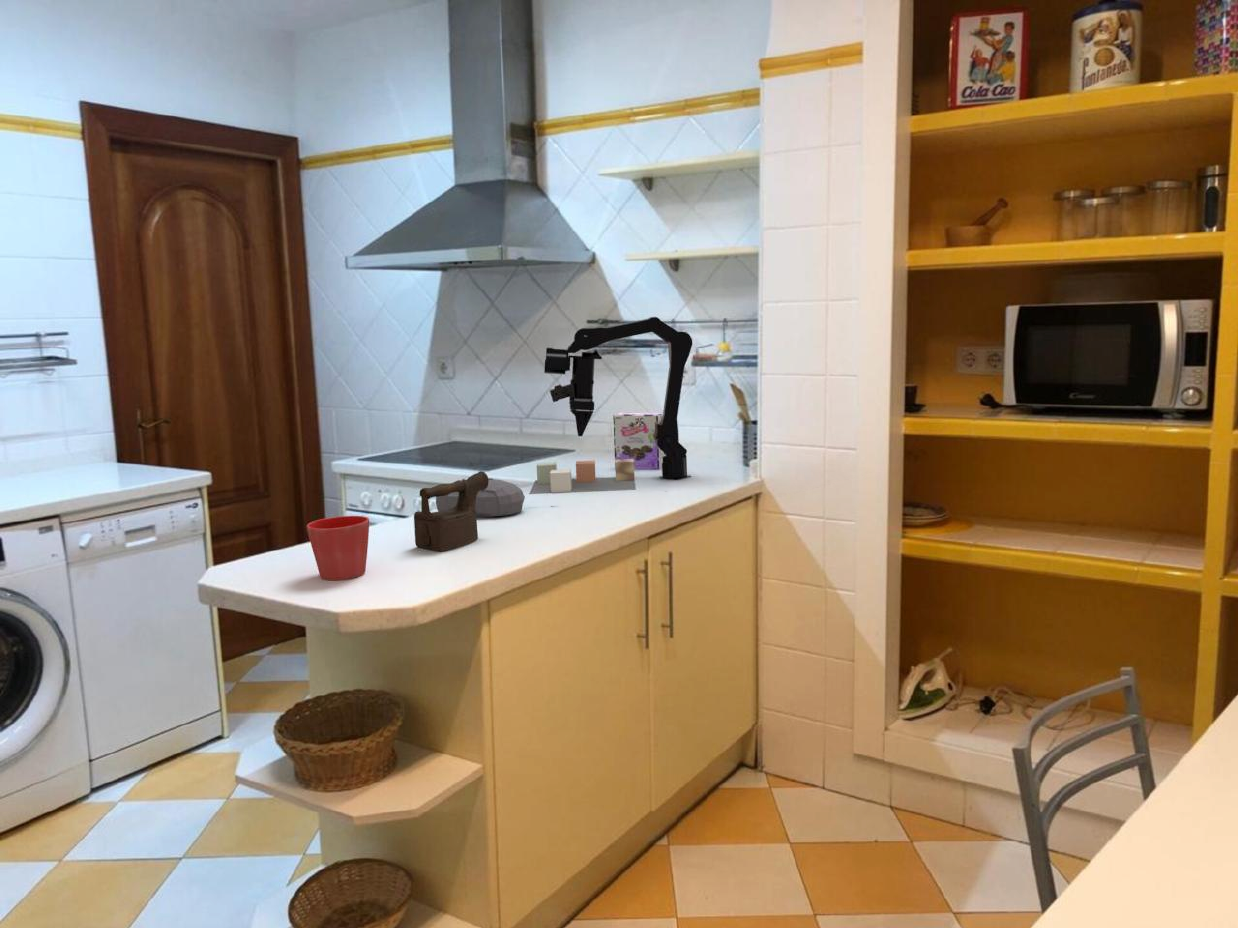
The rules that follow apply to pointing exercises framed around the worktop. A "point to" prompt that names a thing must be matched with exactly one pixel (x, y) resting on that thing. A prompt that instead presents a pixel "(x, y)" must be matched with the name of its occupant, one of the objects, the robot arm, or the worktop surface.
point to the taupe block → (560, 480)
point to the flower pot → (340, 546)
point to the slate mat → (588, 486)
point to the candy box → (637, 439)
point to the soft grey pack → (489, 499)
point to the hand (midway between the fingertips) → (579, 434)
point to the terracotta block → (585, 471)
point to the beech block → (624, 470)
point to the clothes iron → (449, 515)
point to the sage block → (545, 472)
